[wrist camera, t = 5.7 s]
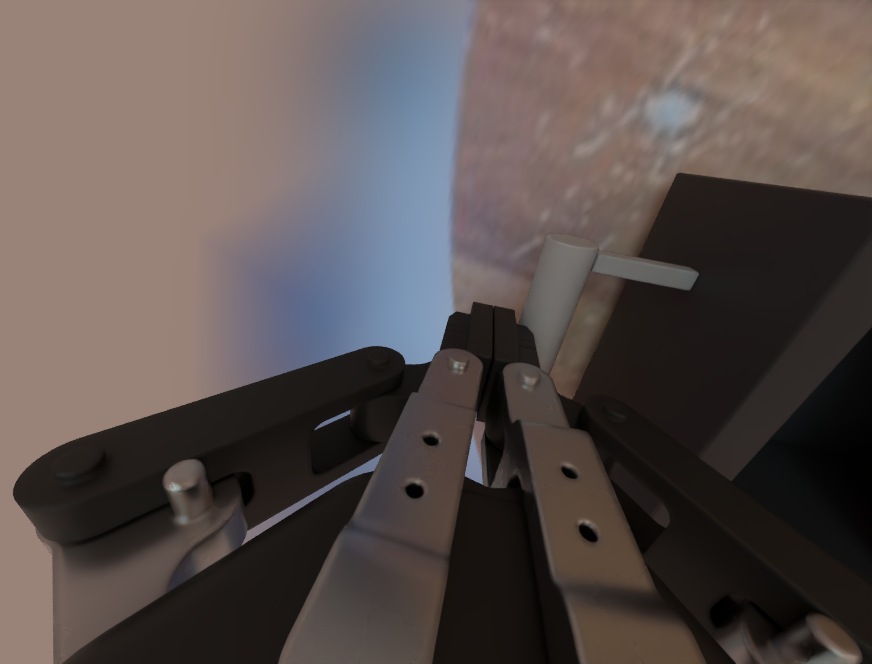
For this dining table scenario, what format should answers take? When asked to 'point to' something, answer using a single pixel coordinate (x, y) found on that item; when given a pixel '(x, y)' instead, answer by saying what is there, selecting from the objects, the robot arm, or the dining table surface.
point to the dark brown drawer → (740, 345)
